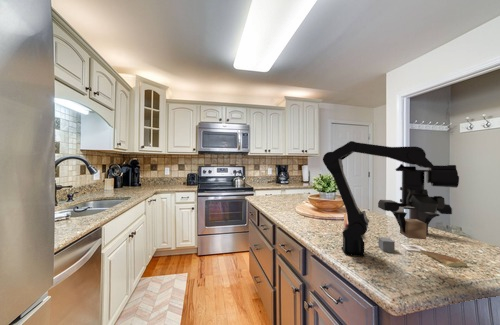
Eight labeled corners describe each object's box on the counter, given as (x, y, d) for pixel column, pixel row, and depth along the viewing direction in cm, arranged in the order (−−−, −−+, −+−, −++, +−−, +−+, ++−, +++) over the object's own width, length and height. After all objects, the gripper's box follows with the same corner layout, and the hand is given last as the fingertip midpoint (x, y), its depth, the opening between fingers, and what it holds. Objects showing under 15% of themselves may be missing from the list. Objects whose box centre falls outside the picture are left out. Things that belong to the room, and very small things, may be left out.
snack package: (359, 238, 92) (360, 223, 92) (343, 236, 94) (343, 221, 94) (357, 225, 111) (357, 213, 111) (343, 223, 114) (343, 211, 114)
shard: (419, 253, 77) (419, 248, 77) (439, 253, 77) (439, 249, 77) (446, 267, 67) (446, 262, 67) (470, 268, 67) (470, 263, 67)
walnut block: (408, 238, 64) (408, 222, 64) (399, 232, 69) (400, 218, 69) (426, 239, 63) (426, 223, 63) (416, 234, 68) (416, 219, 68)
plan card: (407, 250, 78) (407, 248, 78) (400, 245, 83) (400, 243, 83) (428, 252, 77) (428, 250, 77) (419, 247, 82) (419, 245, 82)
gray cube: (382, 251, 78) (382, 241, 78) (378, 247, 82) (378, 237, 82) (394, 252, 77) (394, 241, 77) (389, 248, 81) (389, 238, 81)
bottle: (421, 231, 102) (421, 191, 102) (431, 236, 95) (432, 193, 96) (406, 230, 103) (407, 191, 103) (416, 235, 96) (416, 193, 96)
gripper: (393, 186, 60) (393, 239, 60) (467, 189, 57) (467, 245, 57) (377, 183, 71) (377, 227, 71) (439, 185, 68) (438, 232, 68)
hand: (412, 232), depth 66 cm, fingers closed on walnut block, 5 cm apart
